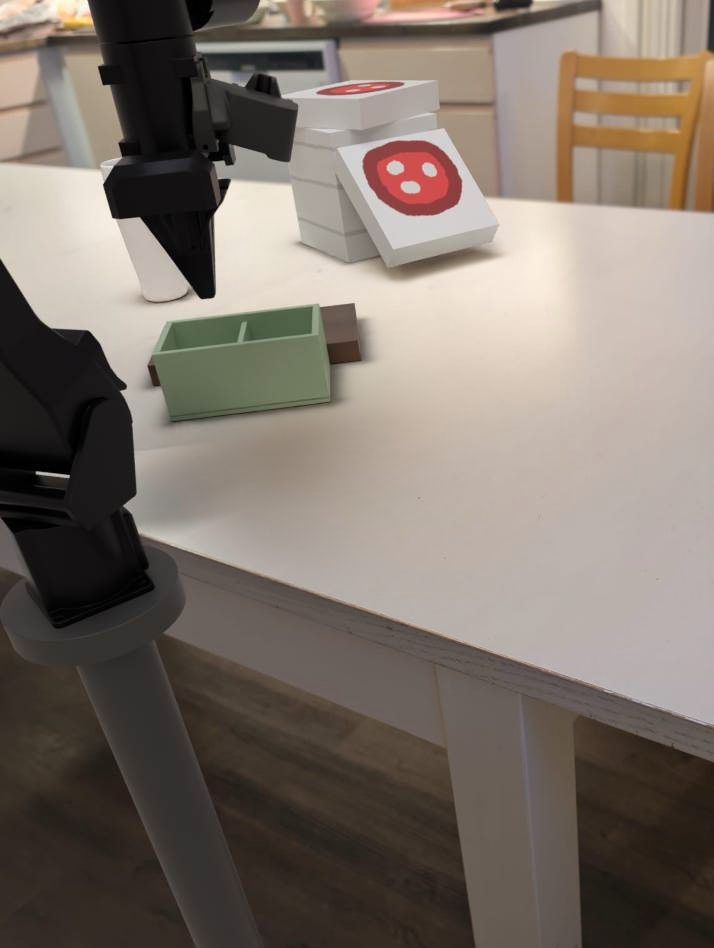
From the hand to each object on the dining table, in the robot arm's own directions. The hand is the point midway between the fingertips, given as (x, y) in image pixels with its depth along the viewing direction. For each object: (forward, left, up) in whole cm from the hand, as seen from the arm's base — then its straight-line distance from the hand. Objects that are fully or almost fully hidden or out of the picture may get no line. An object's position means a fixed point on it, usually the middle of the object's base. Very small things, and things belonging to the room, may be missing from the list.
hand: (208, 297), depth 67 cm
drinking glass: (+14, +50, -13) cm, 53 cm away
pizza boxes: (+44, +45, -13) cm, 64 cm away
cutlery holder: (+7, +13, -13) cm, 19 cm away
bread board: (+13, +22, -13) cm, 28 cm away
